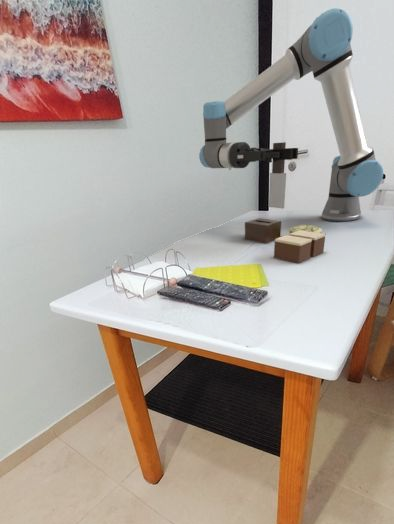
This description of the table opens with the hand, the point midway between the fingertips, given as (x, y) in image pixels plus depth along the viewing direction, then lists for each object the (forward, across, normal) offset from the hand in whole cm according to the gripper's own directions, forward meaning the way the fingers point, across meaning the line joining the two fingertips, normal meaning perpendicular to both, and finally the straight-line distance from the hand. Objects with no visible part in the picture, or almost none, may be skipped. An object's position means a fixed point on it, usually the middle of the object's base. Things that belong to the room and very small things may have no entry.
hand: (294, 153), depth 97 cm
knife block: (-14, -4, -27) cm, 31 cm away
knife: (-6, 0, -15) cm, 16 cm away
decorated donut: (-2, -13, -27) cm, 30 cm away
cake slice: (+8, +9, -27) cm, 29 cm away
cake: (+8, +2, -27) cm, 28 cm away
